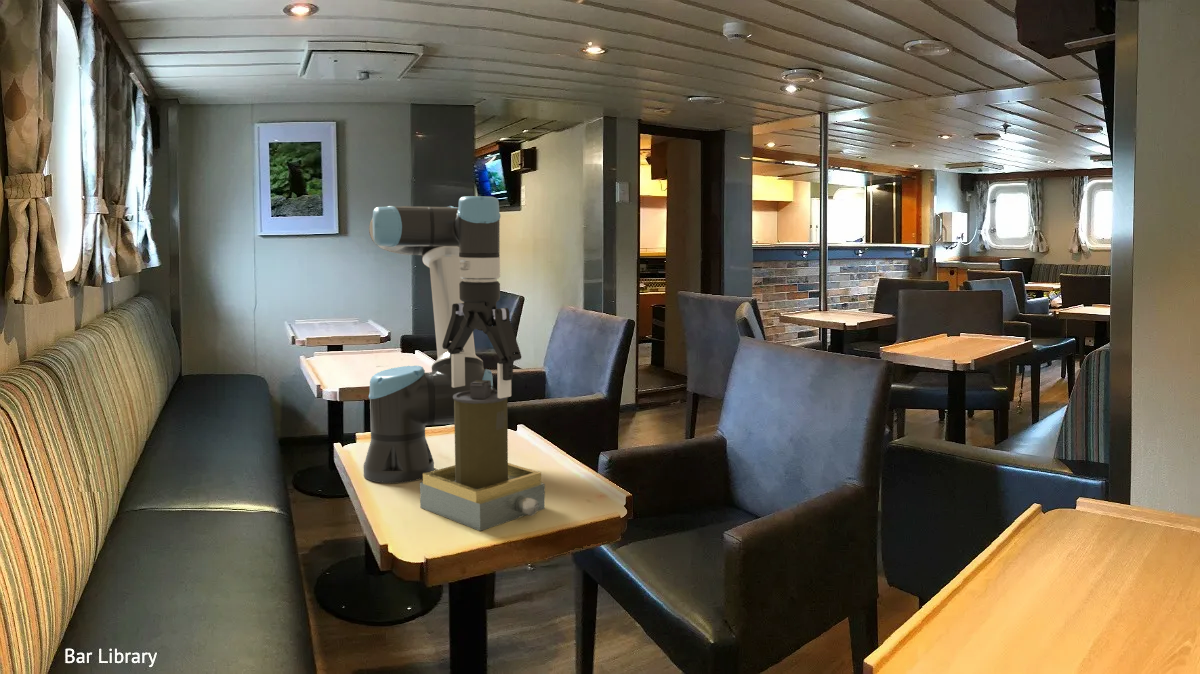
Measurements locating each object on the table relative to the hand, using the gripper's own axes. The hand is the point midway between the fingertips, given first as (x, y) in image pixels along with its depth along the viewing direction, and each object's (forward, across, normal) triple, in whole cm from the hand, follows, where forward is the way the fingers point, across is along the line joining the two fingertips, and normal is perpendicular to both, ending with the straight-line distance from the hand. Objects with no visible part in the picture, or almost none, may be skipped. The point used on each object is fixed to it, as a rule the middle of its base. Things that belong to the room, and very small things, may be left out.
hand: (480, 391), depth 151 cm
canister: (+18, +1, 0) cm, 18 cm away
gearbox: (+23, +2, 0) cm, 23 cm away
